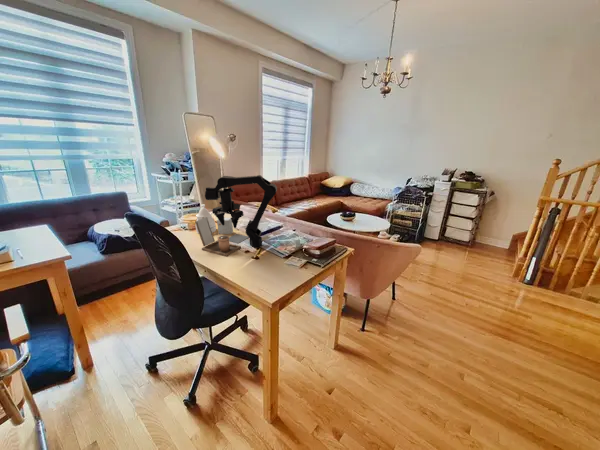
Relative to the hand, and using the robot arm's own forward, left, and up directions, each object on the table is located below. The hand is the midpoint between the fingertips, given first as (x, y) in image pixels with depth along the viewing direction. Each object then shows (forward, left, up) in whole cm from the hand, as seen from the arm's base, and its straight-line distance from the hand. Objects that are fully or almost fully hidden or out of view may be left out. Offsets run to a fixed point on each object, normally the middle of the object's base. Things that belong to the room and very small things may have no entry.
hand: (229, 226), depth 138 cm
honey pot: (+34, -13, -13) cm, 39 cm away
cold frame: (+5, +6, -13) cm, 15 cm away
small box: (+18, -15, -13) cm, 27 cm away
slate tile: (+4, -10, -13) cm, 17 cm away
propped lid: (+13, +6, -3) cm, 15 cm away
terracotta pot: (0, +6, -12) cm, 13 cm away
